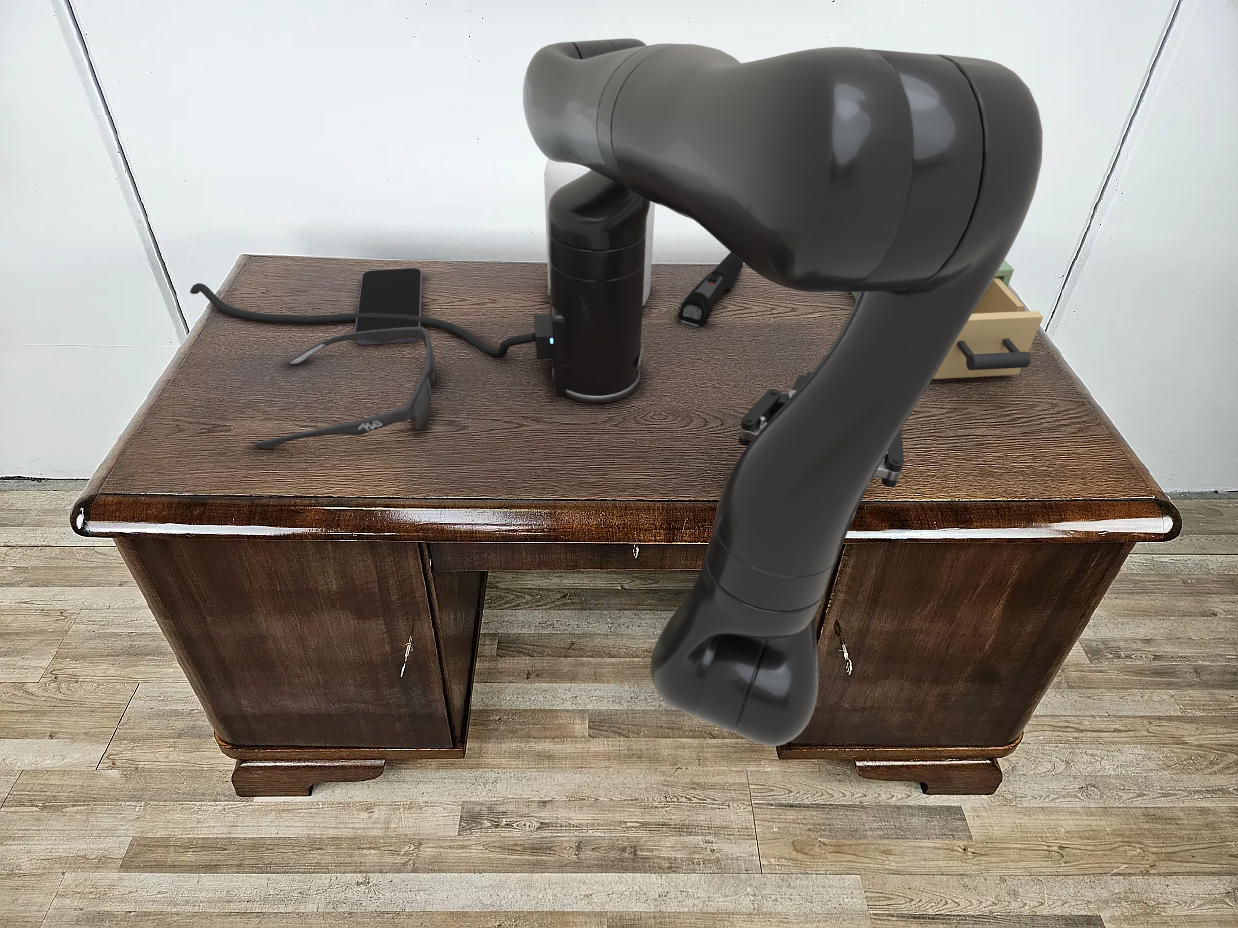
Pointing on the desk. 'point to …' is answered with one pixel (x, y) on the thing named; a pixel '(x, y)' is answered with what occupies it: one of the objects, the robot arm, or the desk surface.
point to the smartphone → (389, 300)
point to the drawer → (993, 337)
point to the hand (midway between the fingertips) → (841, 388)
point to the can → (566, 173)
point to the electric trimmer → (710, 291)
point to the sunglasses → (412, 410)
